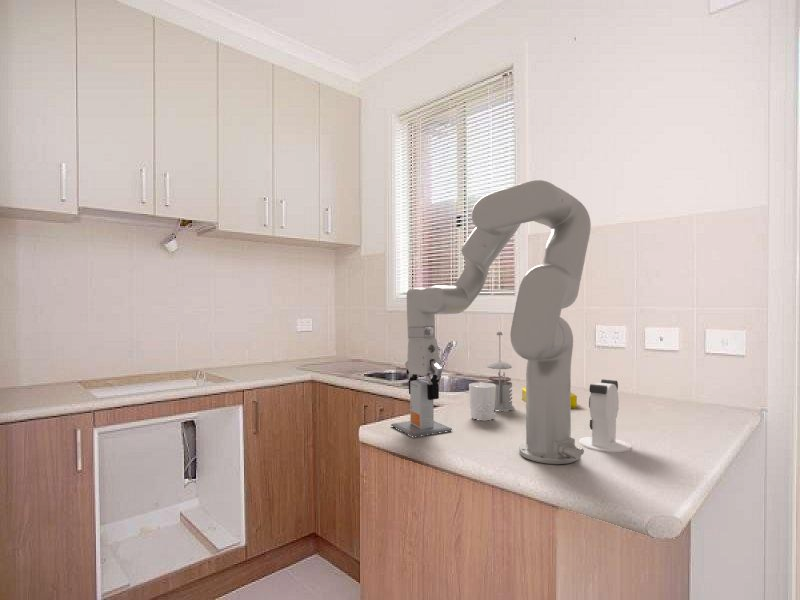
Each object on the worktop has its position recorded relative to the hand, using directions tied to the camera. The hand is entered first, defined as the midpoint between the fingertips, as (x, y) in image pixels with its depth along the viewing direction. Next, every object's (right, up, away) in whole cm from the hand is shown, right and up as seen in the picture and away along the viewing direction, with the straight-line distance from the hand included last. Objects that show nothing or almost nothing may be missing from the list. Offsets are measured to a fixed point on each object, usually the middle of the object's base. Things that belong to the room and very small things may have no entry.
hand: (423, 396), depth 122 cm
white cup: (+18, -9, +12) cm, 24 cm away
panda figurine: (+43, -9, -13) cm, 46 cm away
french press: (+26, -9, +24) cm, 37 cm away
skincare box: (0, -8, 0) cm, 8 cm away
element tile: (+45, -10, +32) cm, 56 cm away
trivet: (-1, -9, 0) cm, 9 cm away
